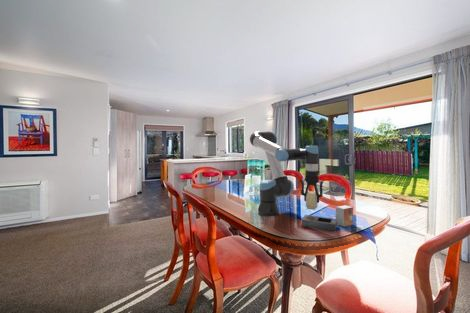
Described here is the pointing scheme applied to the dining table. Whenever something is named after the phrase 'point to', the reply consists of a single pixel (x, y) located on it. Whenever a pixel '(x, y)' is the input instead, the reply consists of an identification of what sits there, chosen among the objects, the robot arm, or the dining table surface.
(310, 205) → the beige square peg
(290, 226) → the dining table surface
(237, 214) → the dining table surface
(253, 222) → the dining table surface
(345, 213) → the small box
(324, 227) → the grey square hole block
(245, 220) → the dining table surface
